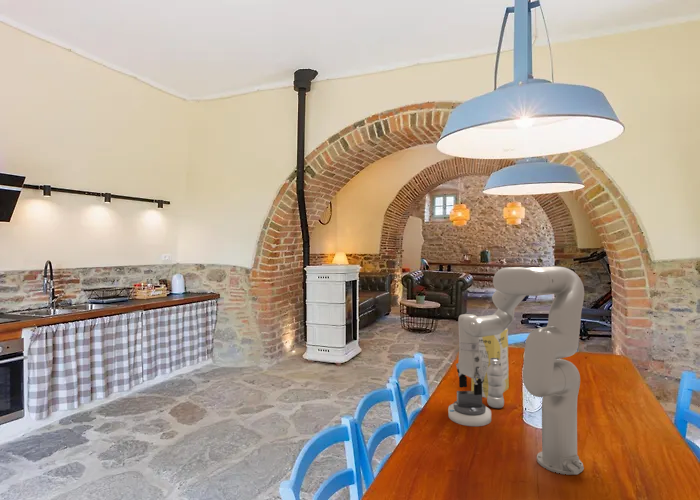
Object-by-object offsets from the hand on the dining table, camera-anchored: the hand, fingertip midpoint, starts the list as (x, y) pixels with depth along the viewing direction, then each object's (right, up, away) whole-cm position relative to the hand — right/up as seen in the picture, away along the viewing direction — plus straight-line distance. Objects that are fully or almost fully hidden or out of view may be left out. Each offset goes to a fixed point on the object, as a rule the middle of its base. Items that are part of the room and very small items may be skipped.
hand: (470, 390), depth 159 cm
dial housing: (0, -11, +1) cm, 11 cm away
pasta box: (+18, -11, +29) cm, 36 cm away
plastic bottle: (+14, -11, +11) cm, 20 cm away
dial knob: (0, -7, +1) cm, 7 cm away
